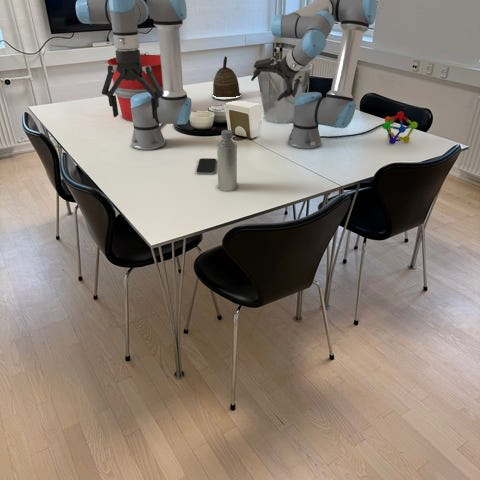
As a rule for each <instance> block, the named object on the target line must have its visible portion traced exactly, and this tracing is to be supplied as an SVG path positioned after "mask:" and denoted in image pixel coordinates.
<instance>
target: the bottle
mask: <svg viewBox="0 0 480 480" xmlns="http://www.w3.org/2000/svg"><path fill="white" fill-rule="evenodd" d="M216 149H217V150H216V151H217V152H216V153H217V157H216V158H217V188H218V190H220V191H222V192H232V191H233V192H234V191H235V190H237V188H238V144H237V143H236V141H234V140H233V138H231V139H223V138H221V140H220V141H219V142H217V145H216Z"/></svg>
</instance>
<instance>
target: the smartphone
mask: <svg viewBox="0 0 480 480" xmlns="http://www.w3.org/2000/svg"><path fill="white" fill-rule="evenodd" d="M216 164H217V158H210V157H209V158H207V157H206V158H205V157H203V158H202V157H201V158H199V159H198V163H197V168H196V174H199V175H212V174H215V173H216V172H215V170H216Z"/></svg>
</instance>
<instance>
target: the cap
mask: <svg viewBox="0 0 480 480" xmlns="http://www.w3.org/2000/svg"><path fill="white" fill-rule="evenodd" d="M220 132H221V133H220V135H221V137H220V138H221V139H233V130H231V129H222V130H221V131H220Z"/></svg>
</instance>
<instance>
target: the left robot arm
mask: <svg viewBox="0 0 480 480" xmlns="http://www.w3.org/2000/svg"><path fill="white" fill-rule="evenodd" d="M187 11H188V9H187V3H186V0H76V2H75V13H76V17H77V19H78V21H79V22H80V23H82V24H89V25H111V28H112V37H113V43H114V48H115V52H114V53H115V57H116V60H117V66H114V65H113V64H111V65H109V64H108V65H109V66H107V74H106V78H105V81H104V84H103V86H102V90H101V94H102V95H104V96H107V98H108V105H109V107H111V108H112V114H113V118H117V117H118V116H119V115H120V114H119V108H118V107H119V106H118V99H117V95H116V94H115V91H116V90H117V88H118V87H119V85H120V84H121V82H122V81H123V80H125V81H128V80H132V81H135V80H137V81H138V82H140V83H141V84H142V85H143V87H144V88H145V89H146V90H147V91H148V92H145V93H140V94H136V95H134V96H133V97H132V98H131V111H132V118H133V121H132V125H133V132H132V135H131V147H132V148H134V149H135V150H141V151H151V150H153V151H154V150H157V149H161V148H163V147H164V146H165V144H166V140H165V137H164V135H163V132H162V130H161V128H162V127H163V126H164V125H177V126H179V125H186V124H188V122H189V120H190V118H191V113H192V99H191V97H189V96H188V93H187V91H185V89H184V84H183V67H182V51H181V50H182V49H181V34H180V33H181V31H180V29H181V28H182V26H183V25H184V23H183V21H184V20H186V19H187V15H188V13H187ZM146 20H153V26H154V27H155V28H156V29H157V32H158V44H159V55H160V57H161V69H162V81H163V90H162V89H161V87H160V85H159V83H158V82H157V80H156V78H155V76H154V74H153V73H152V68H151V66H150V65H149V66H146V67H142V65H141V57H140V54H141V50H140V49H139V48H140V42H139V41H140V39H139V31H138V25H141V24H143V23H144V22H146ZM116 70H117V71H118V73H119V74H120V75H119V77H118V78H117V80H116V82H115V83H113V84H114V85H113V84H112V82H113V79H112V78H113V75H114V72H115V71H116ZM142 71H144V72H145V73H146V74H147V76H148V78H149V80H150V82H151V83H152V85H153V87H154V89H155V90H154V89H153V88H152V86H151V85H150V84H149V83H148V82H147V81H146V79H145V78H144V76H143V75H142V74H141V73H142ZM111 84H112V85H111ZM110 86H111V88H110ZM160 124H161V125H160Z"/></svg>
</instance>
